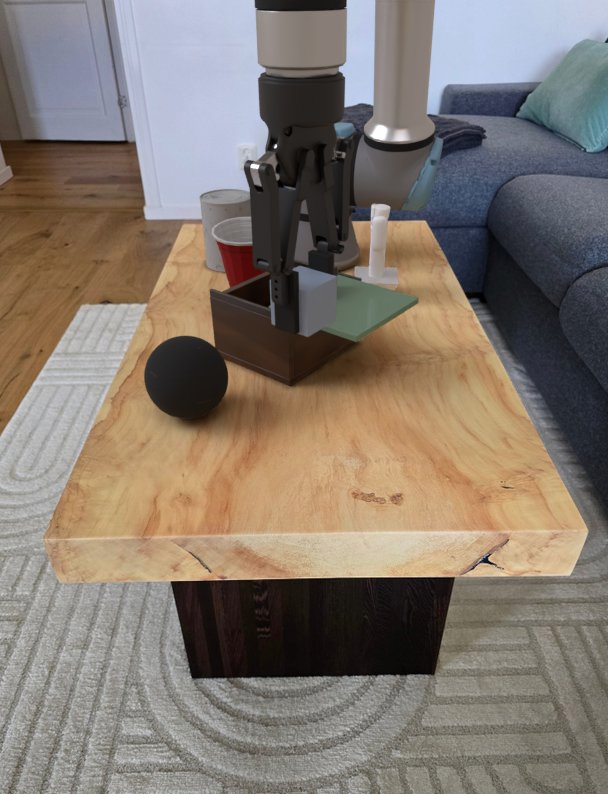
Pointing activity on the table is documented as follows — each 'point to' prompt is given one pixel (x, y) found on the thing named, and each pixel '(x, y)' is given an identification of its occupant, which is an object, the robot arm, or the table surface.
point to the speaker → (186, 377)
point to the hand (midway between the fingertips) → (304, 319)
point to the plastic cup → (236, 249)
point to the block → (314, 300)
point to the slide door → (365, 307)
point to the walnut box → (267, 333)
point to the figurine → (378, 252)
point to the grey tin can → (221, 218)
